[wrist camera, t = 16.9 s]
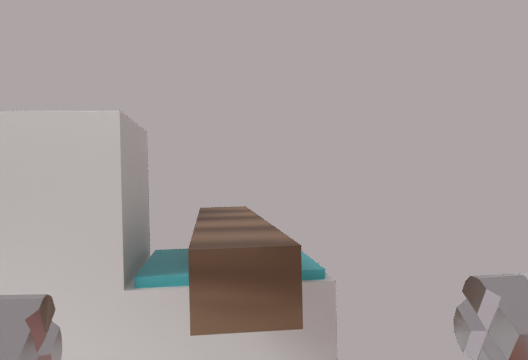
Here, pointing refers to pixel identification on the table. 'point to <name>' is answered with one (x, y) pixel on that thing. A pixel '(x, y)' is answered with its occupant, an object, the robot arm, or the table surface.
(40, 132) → the stepped stand
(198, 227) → the walnut block
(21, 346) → the robot arm
